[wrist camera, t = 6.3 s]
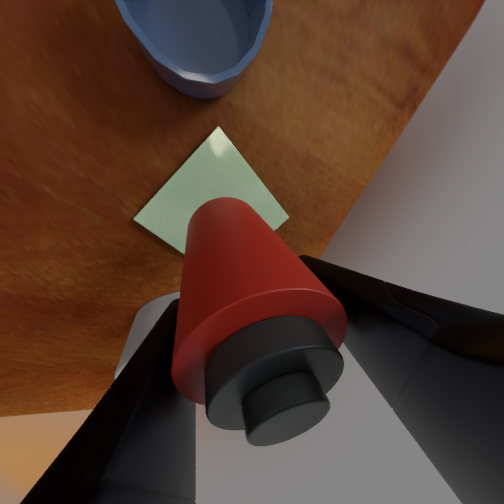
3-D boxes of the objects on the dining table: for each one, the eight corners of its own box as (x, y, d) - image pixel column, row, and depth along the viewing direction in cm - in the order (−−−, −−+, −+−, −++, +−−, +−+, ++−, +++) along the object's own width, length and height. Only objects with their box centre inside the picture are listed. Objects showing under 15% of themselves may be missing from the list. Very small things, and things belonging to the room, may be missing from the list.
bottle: (226, 276, 15) (270, 473, 6) (169, 236, 12) (92, 492, 3) (275, 232, 14) (413, 383, 5) (226, 178, 11) (341, 302, 2)
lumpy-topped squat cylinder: (223, 344, 30) (232, 408, 22) (131, 344, 25) (104, 427, 17) (244, 296, 26) (263, 355, 18) (139, 284, 21) (108, 359, 13)
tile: (219, 275, 23) (220, 279, 22) (135, 216, 17) (132, 219, 17) (286, 215, 21) (289, 217, 20) (217, 126, 15) (218, 125, 15)
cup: (200, 124, 15) (201, 117, 11) (96, -1, 11) (42, -80, 7) (272, 43, 14) (301, 4, 10) (186, -134, 10) (180, -314, 6)
